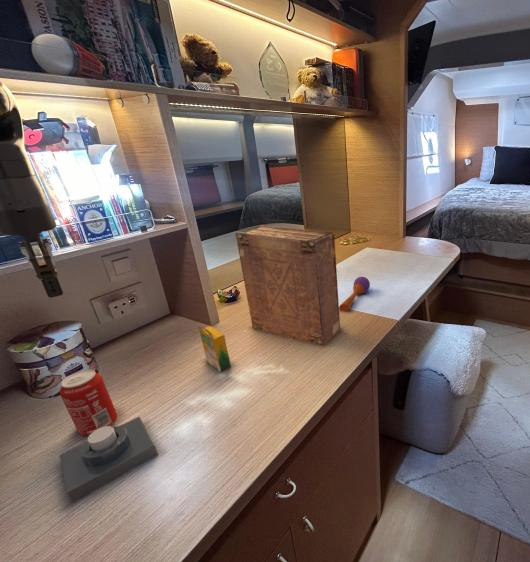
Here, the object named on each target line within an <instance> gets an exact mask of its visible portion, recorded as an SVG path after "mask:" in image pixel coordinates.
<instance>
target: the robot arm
mask: <svg viewBox="0 0 530 562" xmlns="http://www.w3.org/2000/svg"><path fill="white" fill-rule="evenodd" d="M22 118H23V117H22V114H21V111H20V107H19V105H18V102H17V100H16V98H15V97H14V95H13V93H12V92H11V90H10V89H9V88H8V87H7V86H6V85H5V84H4V83H2V81H0V235H1V236H5V237H6V236H7V237H16V236H19V237H21V238H22V240H23V241H19V242H18V247H19V249H20V251H21V254H22V255H23V256H25V258H26V260H27V263H28V265H29V267H30V269H31V270H34V271H35V273H36V278H37V279H38V280H39V281H40V282H41V284H42V286H43V289H44V291H45V293H46V295H47V297H48V298H49V299H51V298H55V297H56V298H57V297H60V296H63V294H64V291H63V289H62V286H61V283H60V282H59V278H58V275H59V274H58V272H57V269H55V268H56V265H57V262H56V259H55V258H54V255H53V253H52V251H53V247H52V245H51V242H50V240H49V238H48V237H47V238H42V236H41V234H42V233H43V232H49V231H52V230H54V229H56V228H57V222H56V220H55V218H54V215H53V212H52V208H51V207H50V204H49V202H48V198H47V196H46V194H45V191H44V189H43V186H42V185H41V183H40V181H39V180H38V178H37V175H36V172H35V169H34V167H33V165H32V161H31V159H30V157H29V153H28V152H27V150H26V144H25V141H26V140H25V132H24V125H23V120H22Z"/></svg>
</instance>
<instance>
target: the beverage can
mask: <svg viewBox="0 0 530 562" xmlns="http://www.w3.org/2000/svg"><path fill="white" fill-rule="evenodd" d="M59 395H60V397H61V399H62V401H63V403H64V405H65V408H66V411H68V414H69V416H70V419H71V420H72V422H73V424H74V426H75V428H76V431H77V432H78V434H80V435H81V436H89V435H90V434H91V433H93V432H94V431H95V430H97V429H99V428H102V427H105V426H111V427H112V425H113V424H114V423H115V422H116V420H117V418H118V413H117V411H116V408H115V405H114V403H113V401H112V398H111V396H110V393H109V391H108V389H107V386H106V383H105V381H104V378H103V376H102V375H101V374H99V373H97V372H96V371H95V370H93V369H84V370H80V371H76V372H74V373H71V374H70V375H68V376H66V377H65V378H64V379H62V381H61V382H60V389H59Z"/></svg>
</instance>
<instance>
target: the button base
mask: <svg viewBox="0 0 530 562" xmlns="http://www.w3.org/2000/svg"><path fill="white" fill-rule="evenodd" d="M112 427H113V428H114V431H115V433H116V436H117V440H116V442H115V443H114V444H112V445H111V446H110V447H108V448H106V449H104V450H101V451H97V452H94V451H92V449H91V447H90V445H89V443H88V439H86V440H85V441H84V442H83V443H81V444H79V445H76V446H75V447H73V448H71V449H68V450H66V451H64V452H62V453H61V454H59V459H60V464H61V469H62V474H63V478H64V483H65V489H66V493H67V495H68V497H69V499H70V501H71V502H72V503H75V502H77V501H78V500H80V499H82V498H84V497H87V495H90V494H91V493H93V492H94V491H96V490H98V489H100V488H102V487H104V486H106V485H107V484H109V483H110V482H113V481H114V480H116V479H118V478H119V477H122V476H123V475H125V474H127V473H128V472H130V471H131V470H133V469H136V468H137V467H139V466H141V465H143V464H144V463H146V462H148V461H150V460H151V459H153V458H155V457H156V456H159V452H158V450H157V448H156V445H155V443H154V441H153V439H152V437H151V435H150V433H149V431H148V430H147V428H146V425H145V424H144V422H143V421H142V419H141V417H140V416H137V417H135V418H133V419H131V420H129V421H127V422H124V423H123V424H120V425H119V426H117V425H116V426H112Z"/></svg>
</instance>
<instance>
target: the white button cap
mask: <svg viewBox="0 0 530 562" xmlns="http://www.w3.org/2000/svg"><path fill="white" fill-rule="evenodd" d="M113 427H114V426H112V425H111V426H105V427H102V428H99V429H97V430H95V431H94V432H93V433H91V434H90V435H88V437H87V440H88V443H89V445H90V447H91V449H92V451H94V452H97V451H101V450H104V449H106V448H108V447H110V446H111V445H112V444H114V443H115V442H116V440H117V436H116V433H115V431H114V428H113Z"/></svg>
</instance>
